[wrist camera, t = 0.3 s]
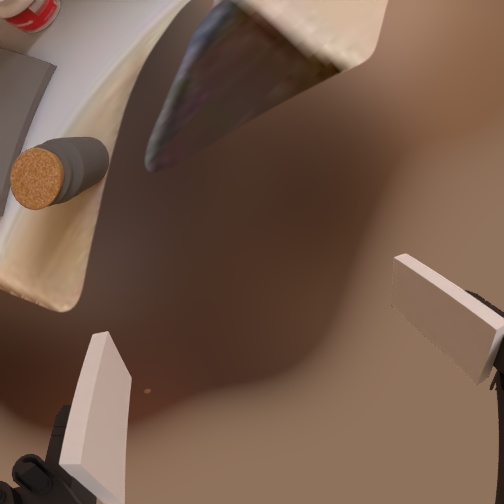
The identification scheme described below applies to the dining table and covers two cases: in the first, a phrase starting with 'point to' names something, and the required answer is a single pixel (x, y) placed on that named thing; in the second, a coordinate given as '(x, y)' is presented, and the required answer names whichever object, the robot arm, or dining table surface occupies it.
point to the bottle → (57, 171)
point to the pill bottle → (29, 13)
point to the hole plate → (18, 107)
